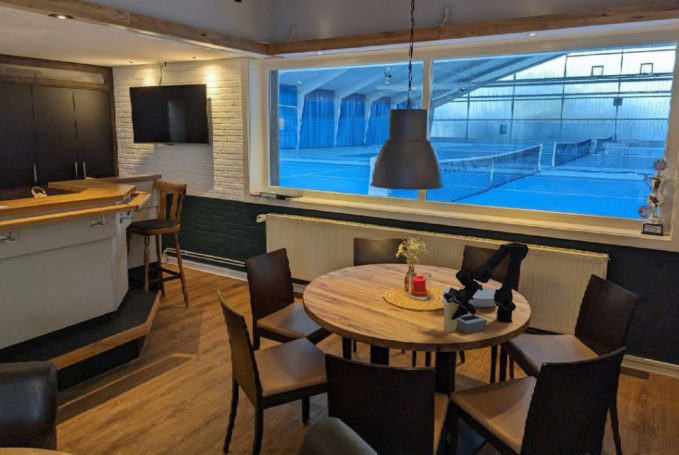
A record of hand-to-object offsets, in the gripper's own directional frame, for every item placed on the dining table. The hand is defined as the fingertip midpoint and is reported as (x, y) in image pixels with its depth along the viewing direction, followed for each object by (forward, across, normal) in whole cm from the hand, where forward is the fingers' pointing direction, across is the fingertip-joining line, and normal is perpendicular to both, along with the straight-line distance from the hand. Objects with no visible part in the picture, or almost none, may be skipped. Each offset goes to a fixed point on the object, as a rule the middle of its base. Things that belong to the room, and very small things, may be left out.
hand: (448, 317), depth 240 cm
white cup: (-9, -24, +18) cm, 31 cm away
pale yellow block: (+4, 0, +6) cm, 7 cm away
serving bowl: (-22, -23, +32) cm, 45 cm away
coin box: (-4, 0, +13) cm, 14 cm away
